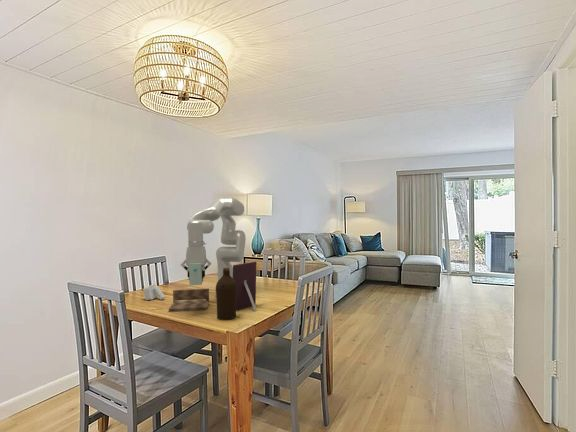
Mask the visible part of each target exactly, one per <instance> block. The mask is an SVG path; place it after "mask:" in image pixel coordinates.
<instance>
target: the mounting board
mask: <svg viewBox="0 0 576 432" xmlns="http://www.w3.org/2000/svg"><path fill="white" fill-rule="evenodd" d="M172 301H173V302H172V304H171V305H170V307H168V312H169V313H171V312H172V313H174V312H176V313H177V312H194V311H208V308H209V305H210V288H193V289H192V288H191V289H190V288H189V289H187V288H186V289H173V290H172Z"/></svg>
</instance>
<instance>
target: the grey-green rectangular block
mask: <svg viewBox="0 0 576 432" xmlns="http://www.w3.org/2000/svg"><path fill="white" fill-rule="evenodd" d="M188 280H189V286H202V285H203V282H204V278H203V279H202V263H189V277H188Z"/></svg>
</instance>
